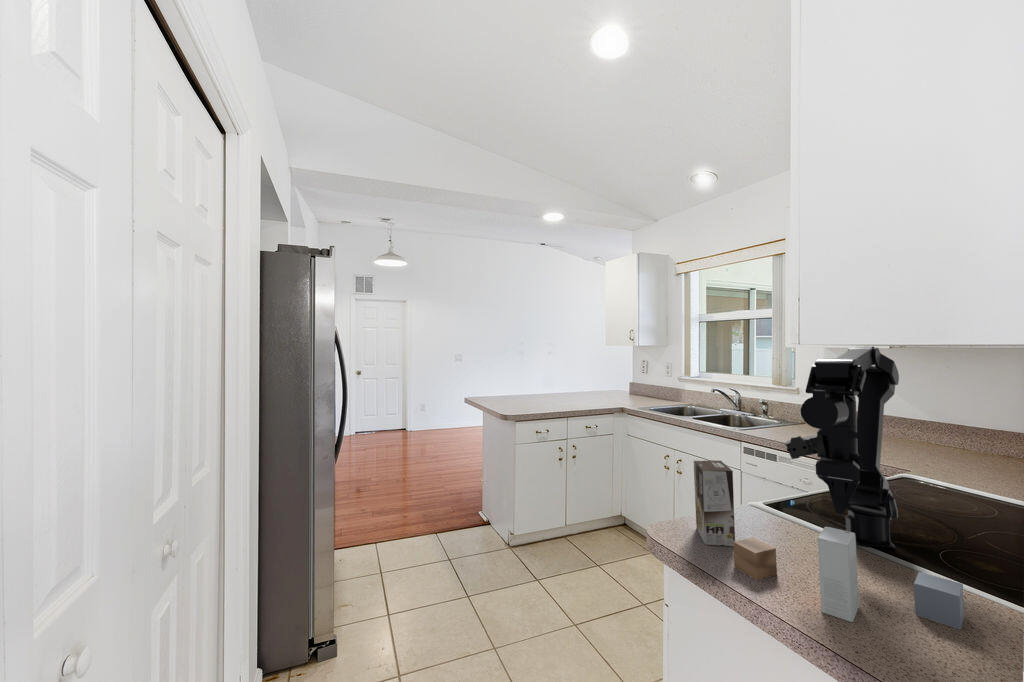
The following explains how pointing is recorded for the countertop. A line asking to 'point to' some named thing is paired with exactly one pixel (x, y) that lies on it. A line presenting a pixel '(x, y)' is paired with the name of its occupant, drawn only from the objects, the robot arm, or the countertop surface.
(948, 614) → the slate block
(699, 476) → the coffee box
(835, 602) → the skincare box
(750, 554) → the walnut block
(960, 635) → the countertop surface
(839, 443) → the robot arm
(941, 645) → the countertop surface
